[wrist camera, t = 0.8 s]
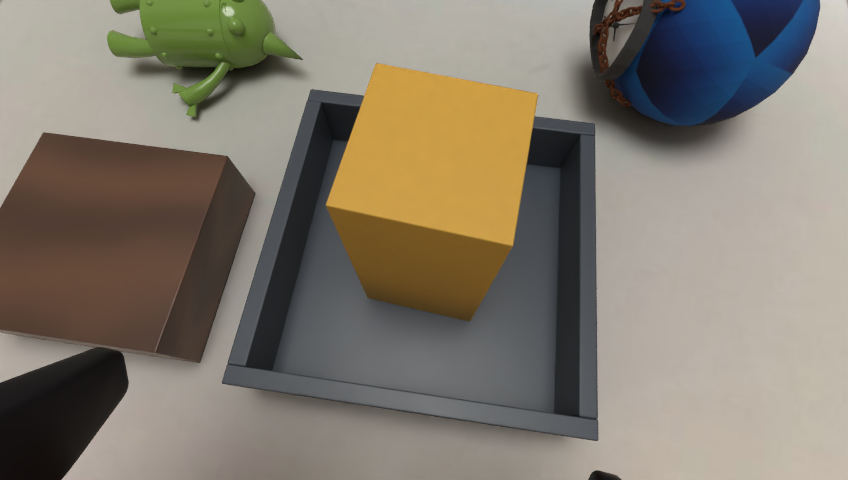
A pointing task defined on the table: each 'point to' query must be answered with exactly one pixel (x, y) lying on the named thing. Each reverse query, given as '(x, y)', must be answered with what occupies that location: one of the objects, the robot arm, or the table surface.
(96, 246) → the square wooden tile
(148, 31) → the character figure
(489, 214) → the puzzle block
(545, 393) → the tray
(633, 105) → the bomb
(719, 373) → the table surface
